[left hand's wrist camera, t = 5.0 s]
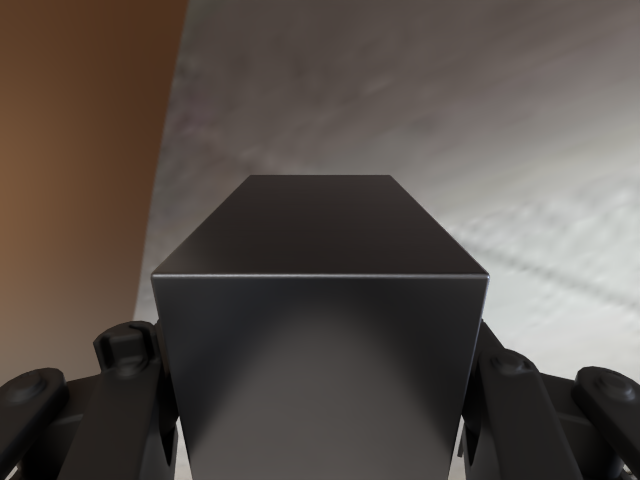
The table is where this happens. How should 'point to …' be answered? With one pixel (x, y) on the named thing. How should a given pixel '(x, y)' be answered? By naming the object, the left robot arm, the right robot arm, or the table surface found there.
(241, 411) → the box
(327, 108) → the table surface
